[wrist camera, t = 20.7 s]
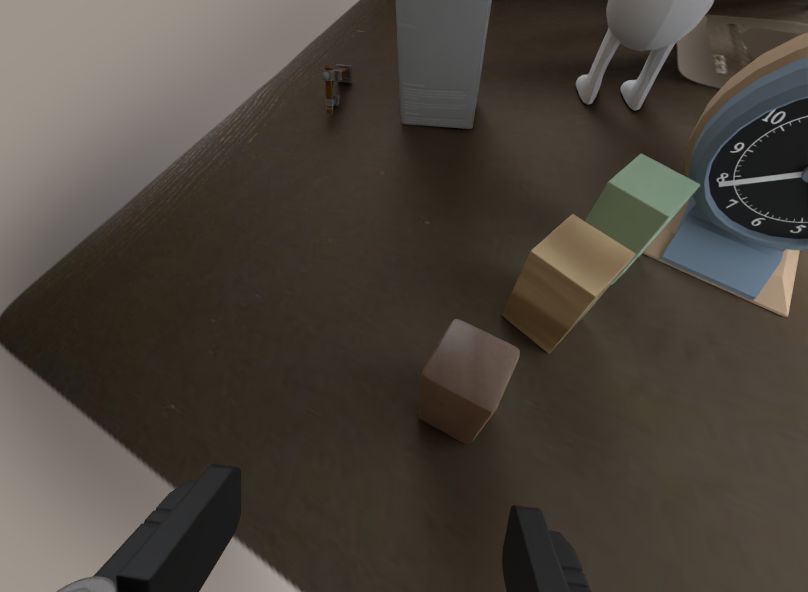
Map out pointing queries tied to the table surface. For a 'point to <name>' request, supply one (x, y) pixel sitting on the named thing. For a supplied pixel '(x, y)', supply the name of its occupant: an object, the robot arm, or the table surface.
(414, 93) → the cosmetic box
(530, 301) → the line block
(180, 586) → the robot arm
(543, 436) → the table surface
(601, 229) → the line block
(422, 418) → the wooden block
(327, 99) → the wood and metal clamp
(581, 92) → the toy character
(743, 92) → the alarm clock
